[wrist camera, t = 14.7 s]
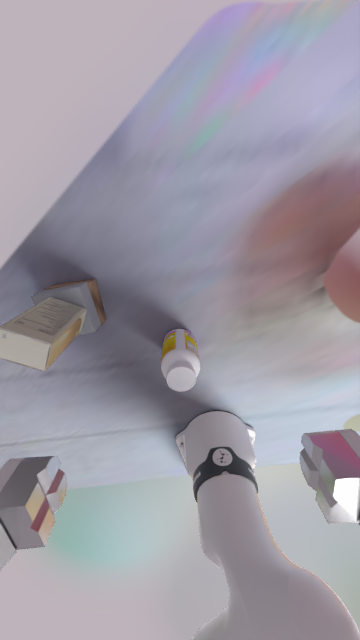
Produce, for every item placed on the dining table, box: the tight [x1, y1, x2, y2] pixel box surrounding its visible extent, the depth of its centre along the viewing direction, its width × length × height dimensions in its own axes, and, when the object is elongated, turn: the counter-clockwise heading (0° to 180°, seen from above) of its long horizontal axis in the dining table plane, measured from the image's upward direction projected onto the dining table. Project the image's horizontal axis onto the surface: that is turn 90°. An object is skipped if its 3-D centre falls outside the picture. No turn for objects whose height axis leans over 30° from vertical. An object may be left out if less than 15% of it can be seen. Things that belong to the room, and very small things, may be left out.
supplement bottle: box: [161, 329, 200, 392], centre depth 44 cm, size 7×7×13 cm
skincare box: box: [0, 297, 87, 371], centre depth 35 cm, size 6×4×12 cm
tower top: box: [31, 282, 101, 336], centre depth 42 cm, size 8×8×4 cm
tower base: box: [45, 279, 106, 325], centre depth 46 cm, size 8×8×4 cm
